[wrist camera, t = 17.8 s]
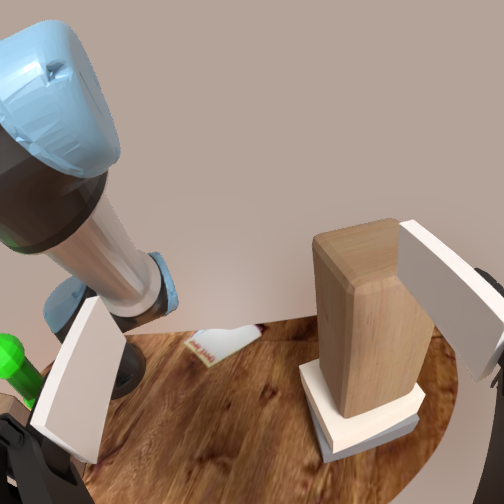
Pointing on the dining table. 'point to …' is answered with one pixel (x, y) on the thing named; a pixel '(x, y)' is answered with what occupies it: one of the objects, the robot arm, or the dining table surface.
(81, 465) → the decorative block
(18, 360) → the plastic bottle
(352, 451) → the tower base
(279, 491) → the dining table surface
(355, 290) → the wooden block
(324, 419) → the tower top
